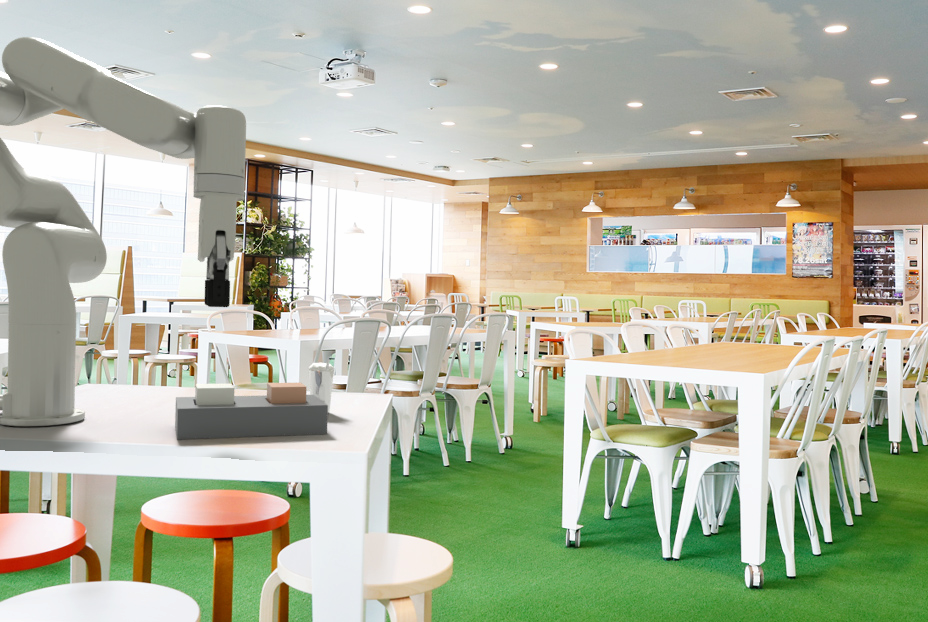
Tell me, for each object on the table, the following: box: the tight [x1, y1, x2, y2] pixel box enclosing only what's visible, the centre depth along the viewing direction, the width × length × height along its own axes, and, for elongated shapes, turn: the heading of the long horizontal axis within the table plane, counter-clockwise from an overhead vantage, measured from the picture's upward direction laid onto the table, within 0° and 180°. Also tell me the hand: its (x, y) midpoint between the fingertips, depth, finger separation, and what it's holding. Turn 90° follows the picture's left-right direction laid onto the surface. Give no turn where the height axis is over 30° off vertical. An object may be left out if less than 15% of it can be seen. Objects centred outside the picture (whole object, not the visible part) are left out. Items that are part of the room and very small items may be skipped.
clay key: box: [266, 382, 307, 404], centre depth 127 cm, size 5×5×4 cm
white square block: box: [194, 383, 235, 405], centre depth 123 cm, size 5×5×4 cm
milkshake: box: [308, 358, 335, 414], centre depth 143 cm, size 4×5×10 cm
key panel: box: [174, 394, 329, 440], centre depth 125 cm, size 22×12×4 cm, turn 111°
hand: (216, 305), depth 122 cm, fingers open, 5 cm apart
